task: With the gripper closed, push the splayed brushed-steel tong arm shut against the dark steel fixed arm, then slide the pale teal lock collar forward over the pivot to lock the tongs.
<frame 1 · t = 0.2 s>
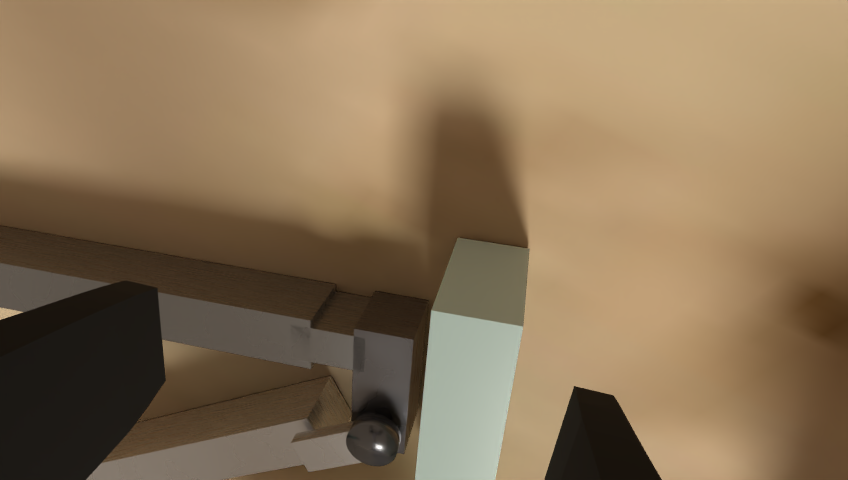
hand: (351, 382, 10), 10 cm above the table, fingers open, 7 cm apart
tong base: (397, 351, 22), on the table
lock collar: (466, 410, 19), point 2 cm above the table, slide at 0.0 cm
tong arm: (182, 454, 24), point 2 cm above the table, hinge at 28.0°
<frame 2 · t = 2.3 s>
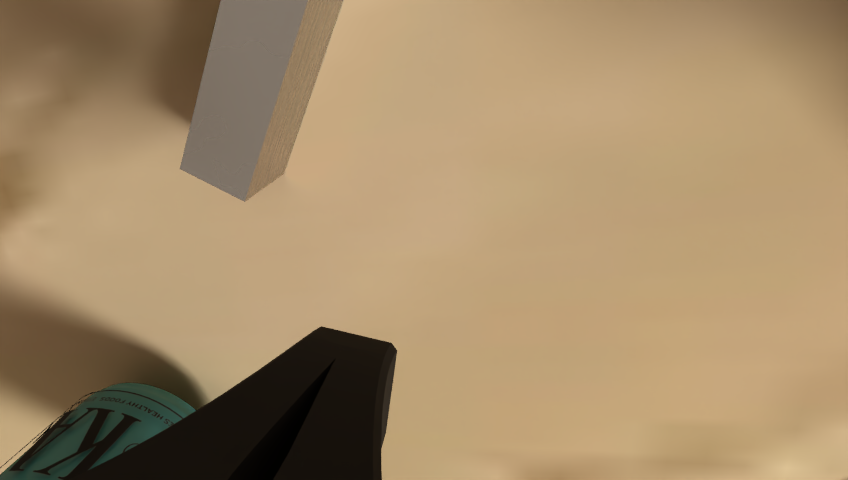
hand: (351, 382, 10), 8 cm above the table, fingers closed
beverage bottle: (179, 413, 24), on the table
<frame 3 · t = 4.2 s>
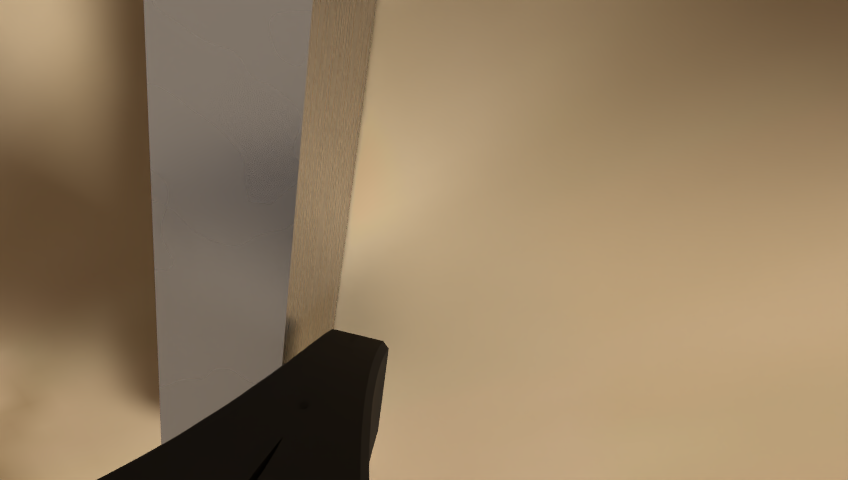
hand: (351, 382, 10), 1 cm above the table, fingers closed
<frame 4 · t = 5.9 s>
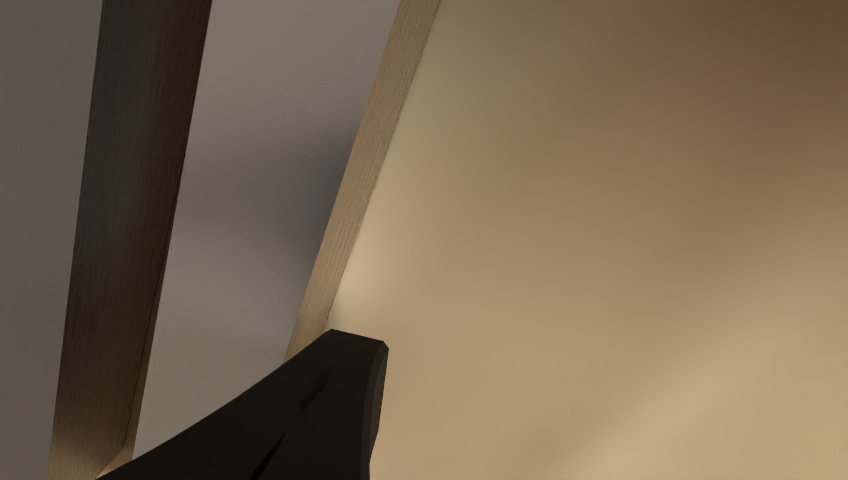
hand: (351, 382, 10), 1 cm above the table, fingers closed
tong arm: (302, 99, 7), point 2 cm above the table, hinge at 1.8°, touching gripper
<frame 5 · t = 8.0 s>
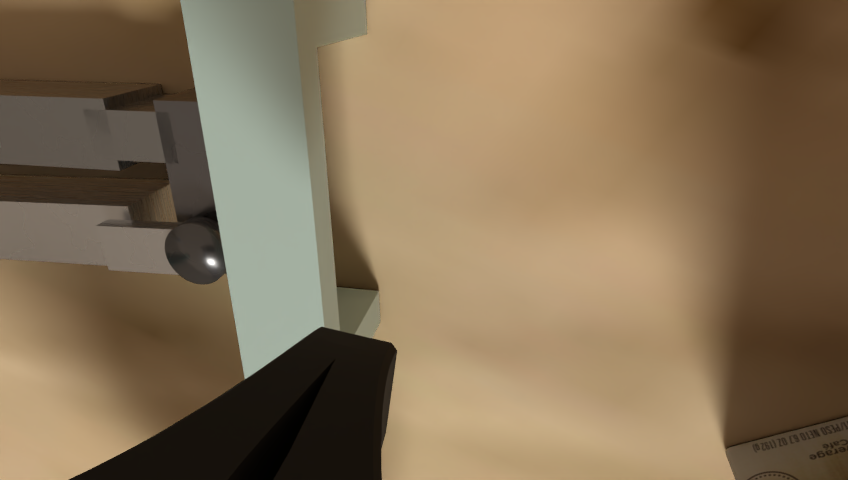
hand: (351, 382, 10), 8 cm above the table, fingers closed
tong base: (246, 166, 18), on the table
lock collar: (306, 198, 15), point 2 cm above the table, slide at 0.0 cm
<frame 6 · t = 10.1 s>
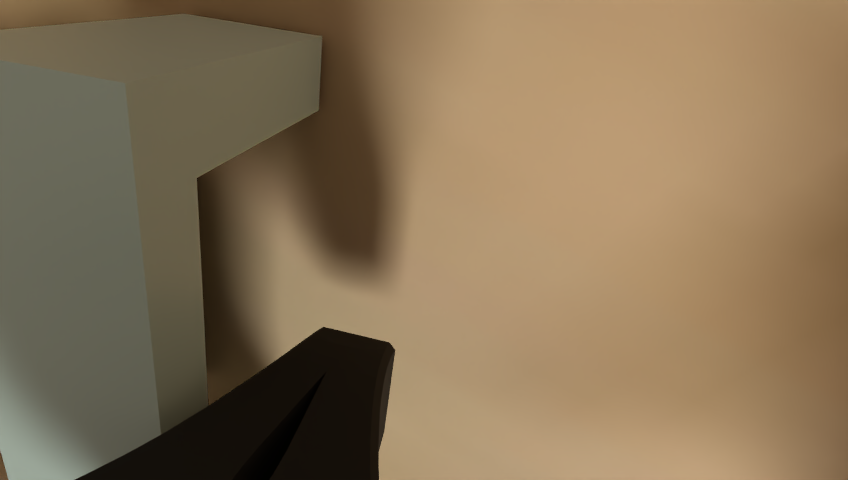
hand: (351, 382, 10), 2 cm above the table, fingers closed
lock collar: (187, 365, 9), point 2 cm above the table, slide at 0.7 cm, touching gripper
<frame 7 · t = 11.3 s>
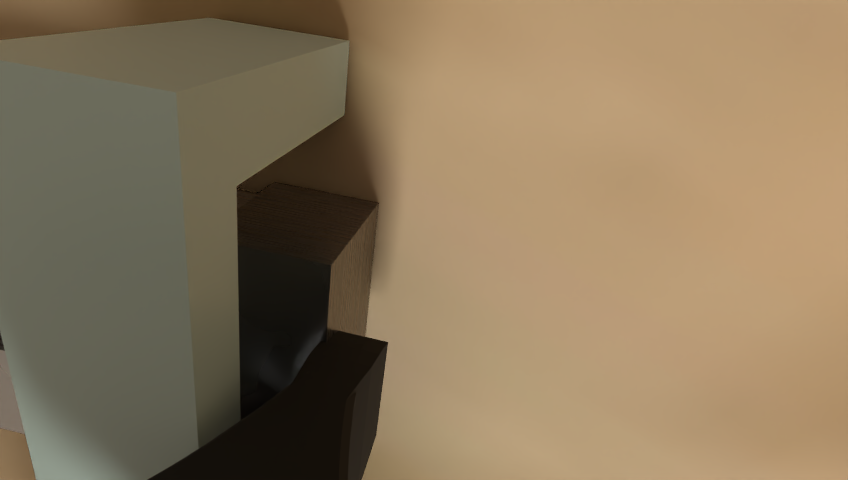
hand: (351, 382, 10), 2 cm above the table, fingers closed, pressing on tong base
tong base: (319, 307, 11), on the table
lock collar: (212, 372, 9), point 2 cm above the table, slide at 3.9 cm, touching gripper
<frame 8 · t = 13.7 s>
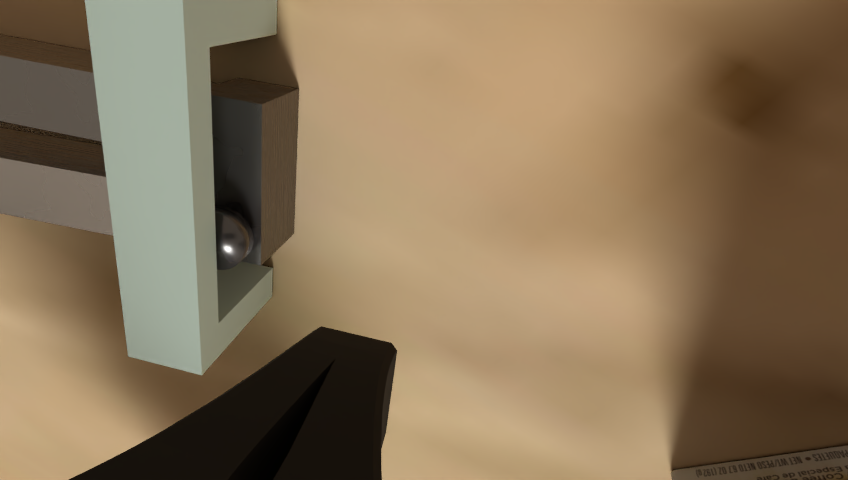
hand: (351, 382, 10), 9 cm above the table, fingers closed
tong base: (267, 159, 19), on the table
lock collar: (201, 177, 17), point 2 cm above the table, slide at 3.9 cm
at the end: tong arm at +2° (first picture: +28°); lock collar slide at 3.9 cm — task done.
